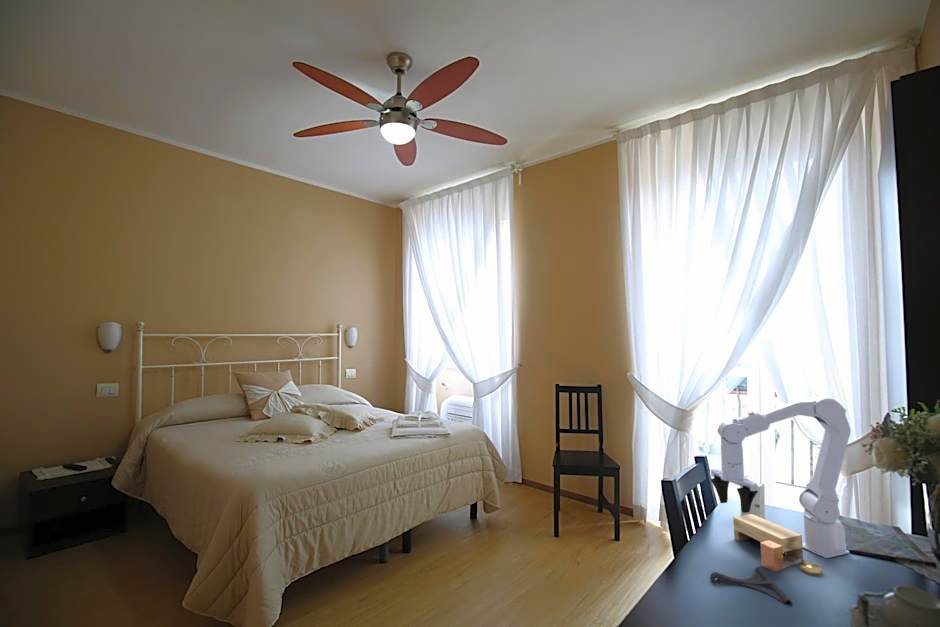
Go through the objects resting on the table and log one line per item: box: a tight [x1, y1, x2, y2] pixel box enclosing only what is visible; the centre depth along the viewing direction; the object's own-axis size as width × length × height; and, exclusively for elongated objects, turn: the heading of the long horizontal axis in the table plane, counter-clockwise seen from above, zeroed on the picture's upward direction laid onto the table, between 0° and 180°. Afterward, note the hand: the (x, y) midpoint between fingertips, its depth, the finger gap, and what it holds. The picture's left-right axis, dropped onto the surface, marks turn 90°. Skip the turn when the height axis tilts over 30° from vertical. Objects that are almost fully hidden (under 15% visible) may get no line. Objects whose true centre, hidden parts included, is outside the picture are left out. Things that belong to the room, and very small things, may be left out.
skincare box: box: [739, 480, 766, 520], centre depth 144 cm, size 6×4×12 cm
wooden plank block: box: [732, 514, 804, 560], centre depth 124 cm, size 8×15×6 cm, turn 17°
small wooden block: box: [759, 540, 803, 573], centre depth 116 cm, size 12×4×6 cm, turn 112°
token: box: [799, 560, 822, 576], centre depth 112 cm, size 4×4×2 cm
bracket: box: [709, 566, 793, 605], centre depth 106 cm, size 14×15×3 cm
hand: (734, 507), depth 129 cm, fingers open, 7 cm apart
